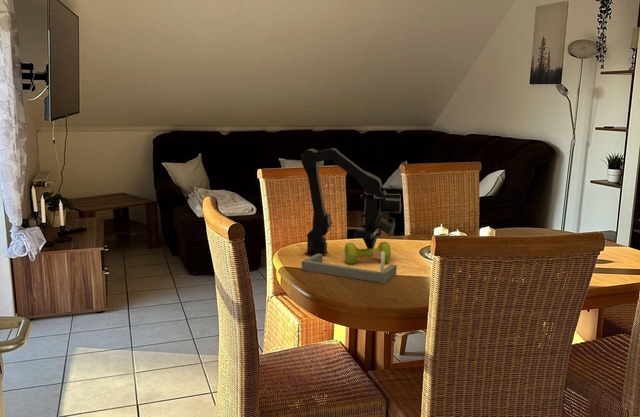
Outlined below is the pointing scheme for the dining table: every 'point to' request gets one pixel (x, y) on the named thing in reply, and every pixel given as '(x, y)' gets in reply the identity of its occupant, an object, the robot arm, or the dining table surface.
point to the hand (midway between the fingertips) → (370, 252)
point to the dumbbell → (365, 252)
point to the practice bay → (350, 269)
